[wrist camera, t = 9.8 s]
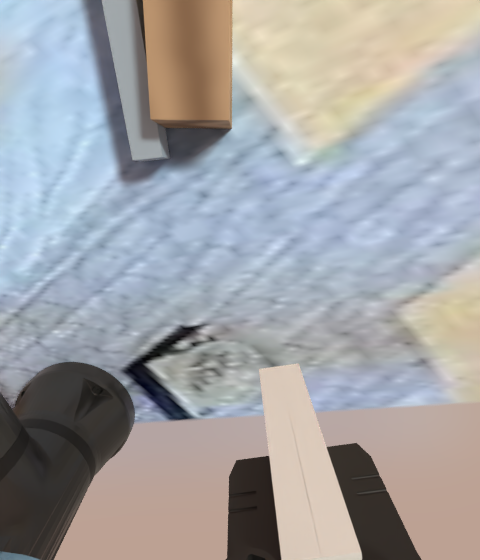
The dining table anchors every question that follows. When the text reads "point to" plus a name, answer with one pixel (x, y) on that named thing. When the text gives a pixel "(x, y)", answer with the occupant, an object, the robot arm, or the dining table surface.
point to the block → (189, 62)
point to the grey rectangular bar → (134, 78)
